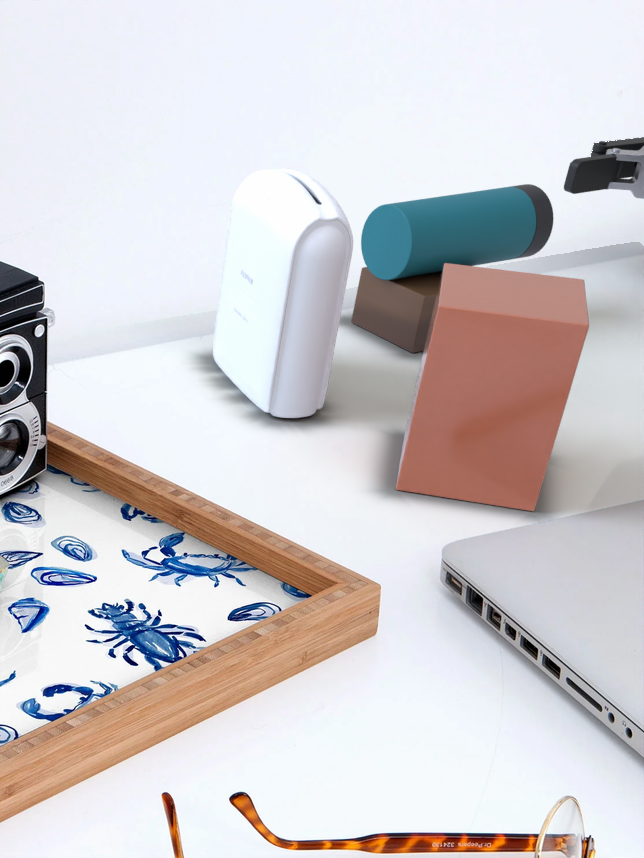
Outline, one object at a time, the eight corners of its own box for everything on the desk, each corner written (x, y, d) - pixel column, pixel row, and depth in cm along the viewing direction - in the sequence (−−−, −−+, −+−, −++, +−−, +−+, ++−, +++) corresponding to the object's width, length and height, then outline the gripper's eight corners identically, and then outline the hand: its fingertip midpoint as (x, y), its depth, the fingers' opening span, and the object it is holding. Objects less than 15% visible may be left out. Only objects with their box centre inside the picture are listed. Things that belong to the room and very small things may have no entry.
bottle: (412, 278, 91) (410, 201, 90) (361, 281, 95) (359, 207, 94) (553, 255, 96) (554, 180, 94) (499, 258, 100) (498, 187, 98)
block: (412, 353, 93) (425, 296, 91) (350, 322, 98) (361, 267, 95) (488, 338, 96) (502, 282, 94) (424, 308, 100) (437, 254, 98)
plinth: (533, 457, 81) (584, 279, 75) (534, 512, 76) (589, 325, 70) (403, 437, 83) (444, 262, 77) (395, 490, 77) (438, 305, 72)
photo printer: (201, 356, 92) (229, 152, 85) (265, 352, 93) (298, 150, 86) (261, 423, 84) (298, 204, 77) (331, 419, 85) (374, 201, 77)
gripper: (715, 91, 107) (553, 110, 101) (895, 138, 97) (726, 163, 91) (682, 195, 112) (525, 220, 106) (850, 251, 101) (687, 282, 95)
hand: (618, 193), depth 98 cm, fingers open, 8 cm apart
